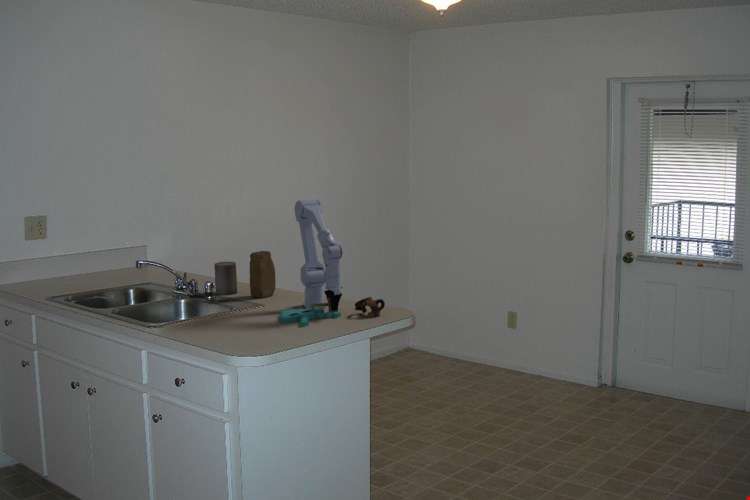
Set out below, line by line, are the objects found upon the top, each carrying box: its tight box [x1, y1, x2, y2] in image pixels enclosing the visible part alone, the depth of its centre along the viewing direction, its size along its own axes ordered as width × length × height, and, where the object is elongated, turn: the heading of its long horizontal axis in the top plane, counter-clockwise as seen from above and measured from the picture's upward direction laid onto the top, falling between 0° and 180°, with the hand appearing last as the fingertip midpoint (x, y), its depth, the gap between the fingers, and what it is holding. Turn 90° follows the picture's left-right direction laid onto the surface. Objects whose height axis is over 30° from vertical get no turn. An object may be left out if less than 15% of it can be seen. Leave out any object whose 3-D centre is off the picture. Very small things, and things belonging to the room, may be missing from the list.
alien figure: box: [278, 308, 342, 328], centre depth 299 cm, size 20×2×20 cm
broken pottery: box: [354, 296, 386, 319], centre depth 303 cm, size 12×10×8 cm
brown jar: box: [249, 250, 277, 299], centre depth 341 cm, size 11×8×20 cm
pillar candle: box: [213, 260, 238, 296], centre depth 349 cm, size 10×10×15 cm
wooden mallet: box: [310, 298, 339, 313], centre depth 305 cm, size 4×10×6 cm, turn 106°
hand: (333, 309), depth 306 cm, fingers closed on wooden mallet, 4 cm apart
